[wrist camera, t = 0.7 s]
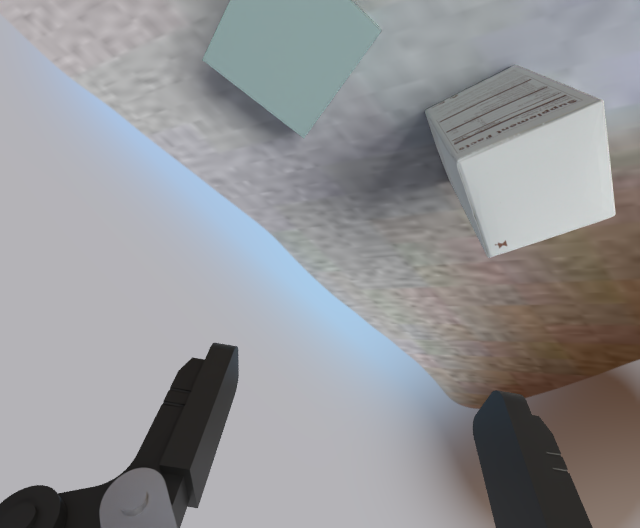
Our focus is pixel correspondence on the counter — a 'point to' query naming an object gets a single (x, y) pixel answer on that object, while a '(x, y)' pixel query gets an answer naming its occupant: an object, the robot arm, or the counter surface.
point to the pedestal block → (291, 53)
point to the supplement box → (525, 158)
